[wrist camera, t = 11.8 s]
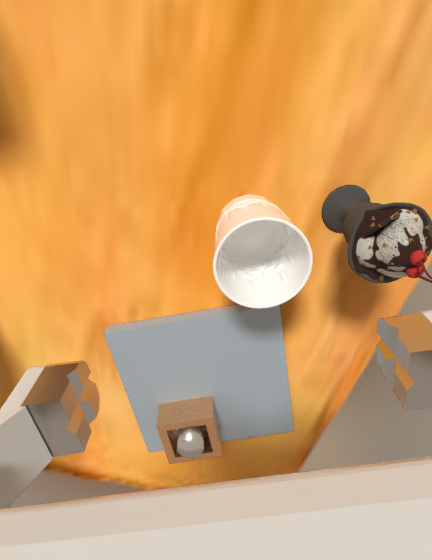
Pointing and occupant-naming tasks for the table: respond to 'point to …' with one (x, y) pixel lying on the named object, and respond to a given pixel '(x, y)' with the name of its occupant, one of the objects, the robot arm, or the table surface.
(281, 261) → the white cup
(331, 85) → the table surface
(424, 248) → the sundae
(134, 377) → the plate
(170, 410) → the collar
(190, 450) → the piston
